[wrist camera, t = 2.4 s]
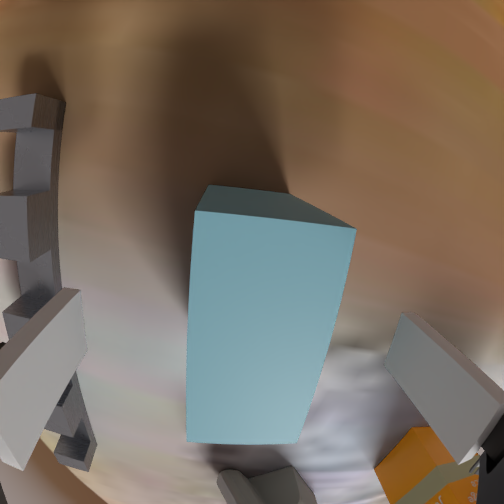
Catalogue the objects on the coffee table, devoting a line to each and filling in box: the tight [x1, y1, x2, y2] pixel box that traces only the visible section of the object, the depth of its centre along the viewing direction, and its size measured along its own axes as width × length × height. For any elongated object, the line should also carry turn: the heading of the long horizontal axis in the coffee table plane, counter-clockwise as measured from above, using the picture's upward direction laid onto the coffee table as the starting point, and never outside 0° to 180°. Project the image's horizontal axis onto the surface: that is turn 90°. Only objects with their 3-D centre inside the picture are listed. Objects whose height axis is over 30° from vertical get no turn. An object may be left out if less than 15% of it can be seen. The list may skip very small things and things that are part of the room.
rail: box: [0, 93, 97, 472], centre depth 16 cm, size 28×3×4 cm, turn 173°
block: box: [186, 185, 357, 445], centre depth 14 cm, size 9×4×9 cm, turn 173°
